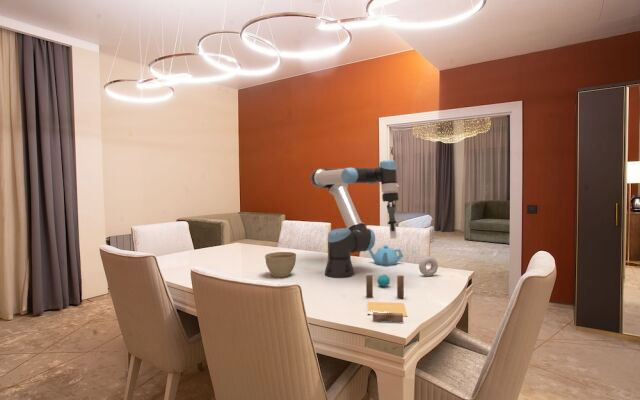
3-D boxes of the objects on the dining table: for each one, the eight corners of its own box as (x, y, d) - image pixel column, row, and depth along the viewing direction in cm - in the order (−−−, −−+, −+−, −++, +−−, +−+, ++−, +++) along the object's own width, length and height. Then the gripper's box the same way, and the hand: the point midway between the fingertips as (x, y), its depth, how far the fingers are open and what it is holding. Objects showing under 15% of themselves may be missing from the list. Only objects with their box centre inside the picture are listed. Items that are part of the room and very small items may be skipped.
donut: (435, 274, 187) (435, 255, 187) (439, 276, 184) (439, 256, 184) (417, 275, 185) (417, 256, 185) (421, 277, 182) (421, 257, 181)
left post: (366, 297, 151) (366, 276, 151) (366, 295, 154) (366, 274, 153) (372, 298, 151) (372, 276, 150) (372, 296, 153) (372, 274, 153)
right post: (397, 298, 149) (397, 276, 149) (397, 296, 152) (396, 275, 151) (404, 298, 149) (403, 277, 149) (403, 297, 152) (403, 275, 151)
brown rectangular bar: (373, 321, 125) (373, 314, 125) (373, 319, 127) (372, 312, 127) (402, 322, 124) (402, 315, 124) (402, 320, 126) (402, 313, 126)
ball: (377, 288, 165) (377, 276, 164) (377, 284, 170) (377, 273, 170) (390, 288, 164) (390, 276, 164) (389, 285, 169) (389, 273, 169)
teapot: (384, 267, 204) (384, 248, 203) (367, 263, 217) (367, 245, 216) (404, 264, 212) (404, 245, 212) (386, 259, 225) (386, 242, 224)
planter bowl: (276, 270, 201) (276, 250, 200) (302, 273, 194) (301, 253, 193) (258, 277, 187) (258, 256, 186) (285, 281, 179) (285, 258, 179)
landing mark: (367, 315, 131) (367, 314, 131) (367, 302, 145) (367, 301, 145) (407, 316, 130) (407, 315, 130) (403, 303, 143) (403, 303, 143)
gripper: (398, 190, 161) (402, 238, 160) (397, 193, 186) (401, 235, 185) (380, 191, 163) (384, 239, 162) (382, 194, 187) (386, 236, 186)
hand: (393, 237), depth 173 cm, fingers open, 13 cm apart
